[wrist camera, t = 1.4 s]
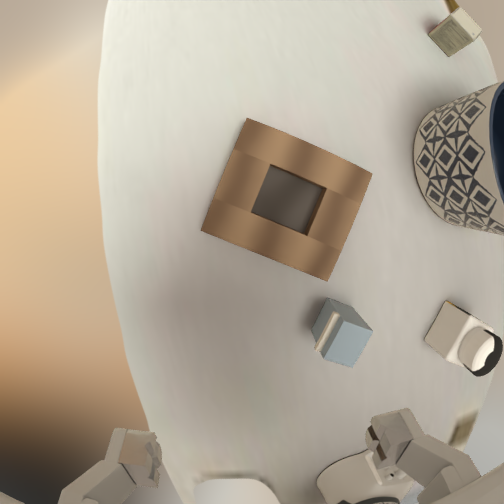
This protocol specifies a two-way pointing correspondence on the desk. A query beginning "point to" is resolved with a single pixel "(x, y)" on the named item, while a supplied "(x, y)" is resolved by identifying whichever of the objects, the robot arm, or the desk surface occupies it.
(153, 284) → the desk surface
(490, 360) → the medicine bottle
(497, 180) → the planter
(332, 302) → the key block
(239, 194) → the wooden socket board
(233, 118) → the desk surface
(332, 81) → the desk surface
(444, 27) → the small box
